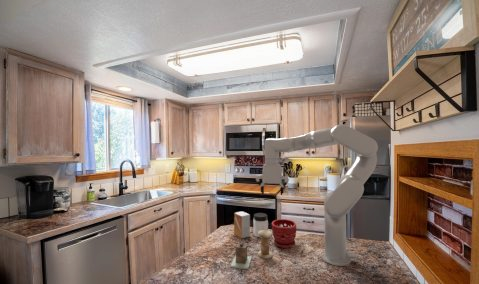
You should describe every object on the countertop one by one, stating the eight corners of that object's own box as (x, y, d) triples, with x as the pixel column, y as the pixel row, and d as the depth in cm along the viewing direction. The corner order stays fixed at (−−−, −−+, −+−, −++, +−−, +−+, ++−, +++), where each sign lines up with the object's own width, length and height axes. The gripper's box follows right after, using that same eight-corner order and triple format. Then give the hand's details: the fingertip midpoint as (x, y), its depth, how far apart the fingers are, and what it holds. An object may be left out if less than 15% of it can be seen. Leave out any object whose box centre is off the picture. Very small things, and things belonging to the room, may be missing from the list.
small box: (233, 234, 134) (233, 212, 135) (242, 231, 138) (242, 211, 138) (241, 238, 128) (241, 216, 128) (250, 236, 131) (250, 214, 132)
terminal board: (251, 258, 105) (251, 256, 105) (248, 269, 96) (248, 267, 96) (235, 256, 107) (235, 254, 107) (230, 267, 97) (230, 265, 97)
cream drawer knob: (272, 252, 111) (272, 230, 111) (271, 259, 104) (271, 236, 104) (258, 251, 112) (258, 229, 112) (257, 258, 105) (257, 234, 106)
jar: (251, 236, 131) (251, 216, 131) (255, 231, 139) (254, 212, 139) (266, 238, 128) (266, 217, 128) (269, 233, 136) (269, 213, 136)
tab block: (247, 258, 103) (247, 241, 103) (245, 263, 99) (245, 245, 99) (237, 257, 104) (238, 240, 104) (235, 262, 100) (235, 244, 100)
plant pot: (273, 238, 128) (273, 217, 128) (296, 241, 124) (296, 219, 125) (270, 248, 115) (270, 225, 116) (296, 251, 112) (296, 228, 112)
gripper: (288, 161, 118) (288, 193, 118) (256, 161, 122) (256, 192, 121) (288, 162, 111) (288, 196, 110) (254, 162, 114) (254, 195, 114)
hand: (272, 194), depth 116 cm, fingers open, 9 cm apart
